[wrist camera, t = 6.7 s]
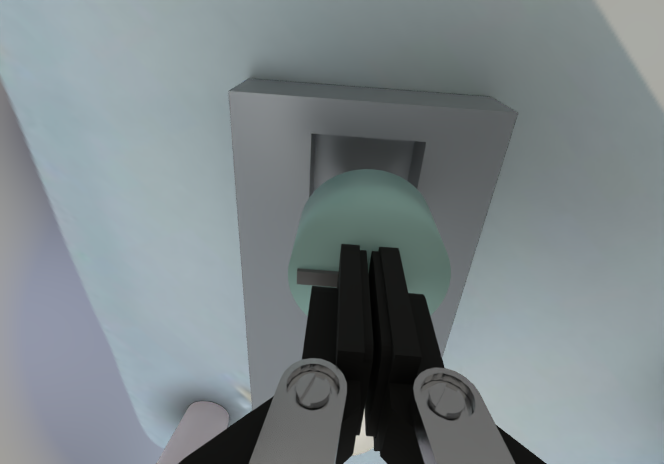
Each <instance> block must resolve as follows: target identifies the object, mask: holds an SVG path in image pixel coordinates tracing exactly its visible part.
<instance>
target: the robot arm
mask: <svg viewBox="0 0 664 464" xmlns="http://www.w3.org/2000/svg"><path fill="white" fill-rule="evenodd" d="M364 408H365V432H366V436H371V437H373V440H374V451H380V456H381V457H382V458H383V460H384V461H385V462H386V463H387V464H546V463H545V462H543V461H542V460H541V459H540V458H538V457H537V456H536V455H534V454H533V453H532V452H530V451H529V450H528V449H527V448H525V447H524V446H523V445H521V444H520V443H519V442H517V441H516V440H515V439H514V438H512V437H511V436H510V435H508V434H507V433H506V432H504V431H503V430H502V429H501V428H499V427H498V426H497V425H496V424H495V422H494V420H493V419H492V417H491V415H490V413H489V411H488V409H487V407H486V405H485V403H484V401H483V399H482V397H481V395H480V393H479V392H478V390H477V389H476V387H475V386H474V385H473V384H472V383H471V382H470V381H469V380H468V379H467V378H466V377H464V376H463V375H461V374H459V373H457V372H455V371H452V370H449V369H446V368H444V364H443V361H442V357H441V353H440V349H439V346H438V342H437V338H436V335H435V331H434V327H433V323H432V320H431V316H430V312H429V309H428V305H427V301H426V298H425V296H424V295H423V294H415V293H408V289H407V285H406V280H405V275H404V270H403V266H402V261H401V256H400V251H399V248H393V247H379V250H378V251H372V253H371V259H370V266H369V273H368V262H367V251H366V250H360V245H353V244H341V251H340V262H339V273H338V284H337V288H335V287H322V286H312V289H311V296H310V303H309V310H308V318H307V325H306V332H305V340H304V347H303V354H302V360H300V361H298V362H295V363H293V364H292V365H291V366H289V367H288V368H287V369H286V370H285V371H284V373H283V375H282V377H281V378H280V381H279V383H278V386H277V389H276V392H275V394H274V396H273V397H272V398H270V399H269V400H267V401H266V402H264V403H263V404H261V405H260V406H259V407H257V408H256V409H254V410H253V411H251V412H250V413H248V414H247V415H246V416H244V417H243V418H241V419H240V420H238V421H237V422H236V423H234V424H233V425H231V426H230V427H228V428H227V429H225V430H224V431H223V432H221V433H220V434H218V435H217V436H215V437H214V438H212V439H211V440H210V441H208V442H207V443H205V444H204V445H202V446H201V447H199V448H198V449H197V450H195V451H194V452H192V453H191V454H189V455H188V456H187V457H185V458H184V459H183V460H182V461H180V462H179V463H178V464H343V463H344V462H345V461H346V460H348V459H349V458H350V457H351V456H352V455H353V451H354V445H355V439H356V435H358V436H359V435H360V431H361V425H362V420H363V414H364Z"/></svg>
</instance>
